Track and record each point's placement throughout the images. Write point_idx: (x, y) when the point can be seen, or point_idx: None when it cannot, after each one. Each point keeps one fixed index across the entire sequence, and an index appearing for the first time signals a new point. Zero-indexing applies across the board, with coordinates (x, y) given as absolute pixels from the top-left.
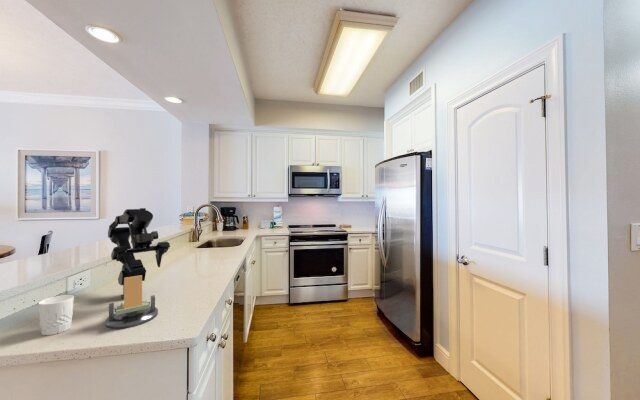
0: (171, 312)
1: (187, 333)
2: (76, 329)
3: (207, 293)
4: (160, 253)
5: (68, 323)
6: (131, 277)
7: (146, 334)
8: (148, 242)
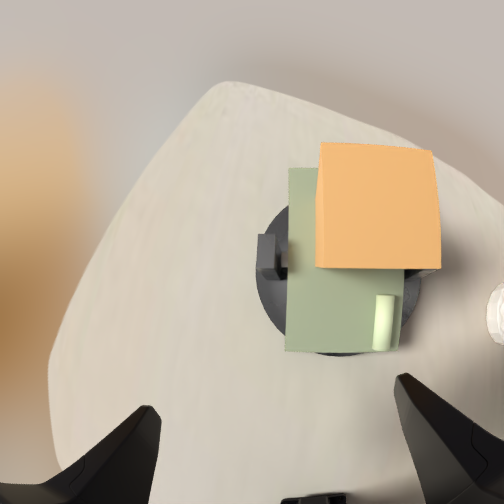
0: (218, 238)
1: (223, 93)
2: (473, 286)
3: (86, 341)
4: (59, 491)
5: (498, 297)
6: (389, 147)
7: (303, 128)
8: None
